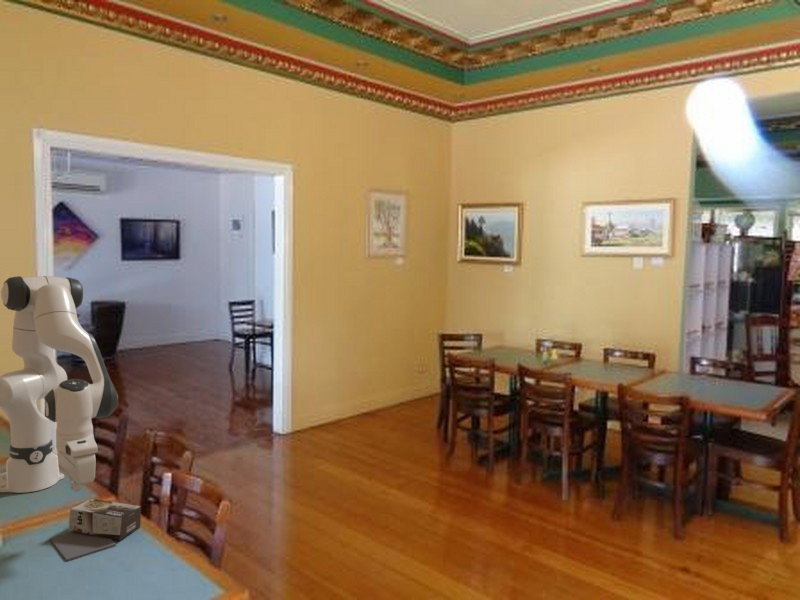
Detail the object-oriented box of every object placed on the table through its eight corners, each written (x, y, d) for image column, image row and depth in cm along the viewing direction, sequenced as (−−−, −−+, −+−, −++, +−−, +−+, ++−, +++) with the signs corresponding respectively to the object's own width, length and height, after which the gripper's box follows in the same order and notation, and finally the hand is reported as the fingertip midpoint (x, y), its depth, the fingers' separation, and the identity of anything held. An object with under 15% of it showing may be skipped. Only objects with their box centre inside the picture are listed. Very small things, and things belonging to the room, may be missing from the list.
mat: (50, 539, 162) (50, 537, 162) (97, 525, 170) (97, 524, 170) (66, 561, 151) (66, 559, 151) (116, 545, 160) (116, 543, 160)
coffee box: (67, 531, 164) (119, 541, 161) (69, 508, 164) (121, 517, 161) (91, 519, 173) (140, 528, 170) (92, 497, 173) (142, 505, 170)
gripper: (51, 432, 167) (51, 480, 168) (73, 453, 152) (74, 505, 153) (75, 428, 171) (76, 475, 172) (99, 448, 156) (100, 498, 158)
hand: (75, 489), depth 163 cm, fingers closed
